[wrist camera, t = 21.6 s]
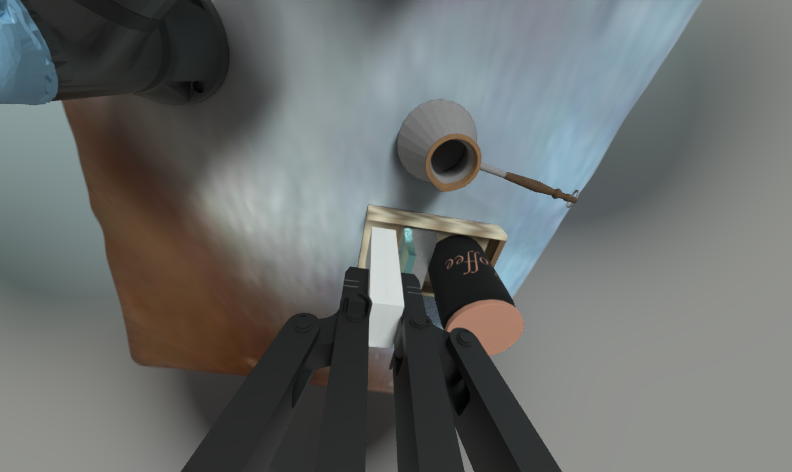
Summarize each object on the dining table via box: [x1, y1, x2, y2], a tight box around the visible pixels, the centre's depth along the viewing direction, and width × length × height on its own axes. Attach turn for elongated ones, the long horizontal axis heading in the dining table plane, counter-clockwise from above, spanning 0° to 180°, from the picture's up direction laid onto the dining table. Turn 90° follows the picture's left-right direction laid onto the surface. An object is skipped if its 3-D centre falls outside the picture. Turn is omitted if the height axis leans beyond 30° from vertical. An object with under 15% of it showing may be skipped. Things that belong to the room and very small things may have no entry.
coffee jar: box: [428, 235, 524, 356], centre depth 45 cm, size 11×11×18 cm
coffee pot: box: [397, 99, 579, 208], centre depth 37 cm, size 21×12×15 cm, turn 74°
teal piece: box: [397, 225, 440, 289], centre depth 47 cm, size 6×13×9 cm, turn 168°
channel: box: [358, 204, 508, 297], centre depth 51 cm, size 24×15×4 cm, turn 79°
